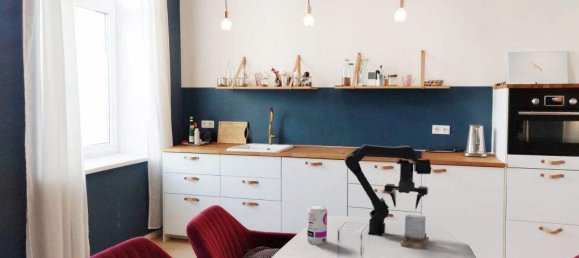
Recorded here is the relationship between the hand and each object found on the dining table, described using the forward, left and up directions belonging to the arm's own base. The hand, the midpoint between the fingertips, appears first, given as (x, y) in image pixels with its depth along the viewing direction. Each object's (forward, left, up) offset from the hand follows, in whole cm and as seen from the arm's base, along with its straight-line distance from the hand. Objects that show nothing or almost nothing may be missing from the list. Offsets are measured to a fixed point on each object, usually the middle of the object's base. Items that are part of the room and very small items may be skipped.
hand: (405, 208), depth 218 cm
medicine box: (+6, -12, -9) cm, 16 cm away
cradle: (+6, -12, -12) cm, 18 cm away
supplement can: (-33, -27, -12) cm, 44 cm away
